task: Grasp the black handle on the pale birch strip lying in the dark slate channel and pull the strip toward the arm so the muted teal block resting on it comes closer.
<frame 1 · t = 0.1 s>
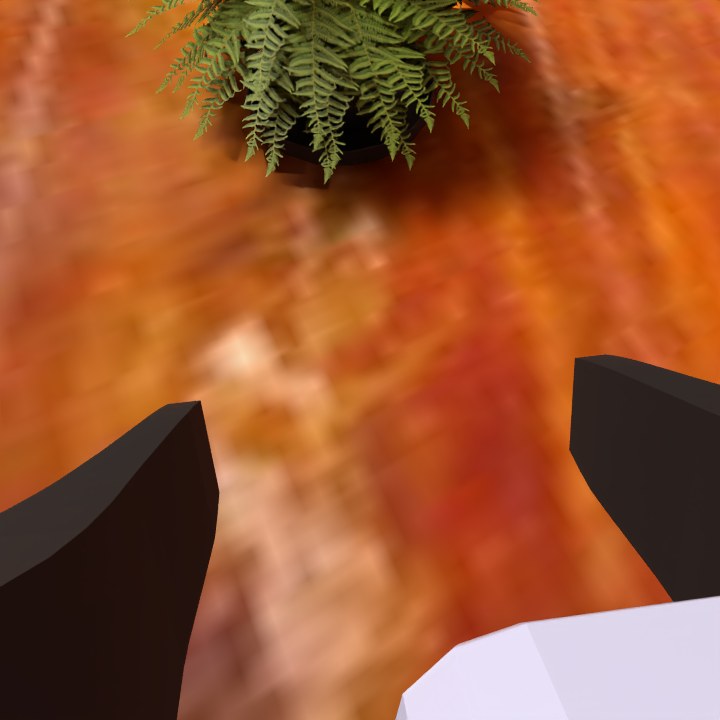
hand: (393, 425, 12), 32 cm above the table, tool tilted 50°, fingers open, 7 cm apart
fern plant: (343, 97, 61), on the table
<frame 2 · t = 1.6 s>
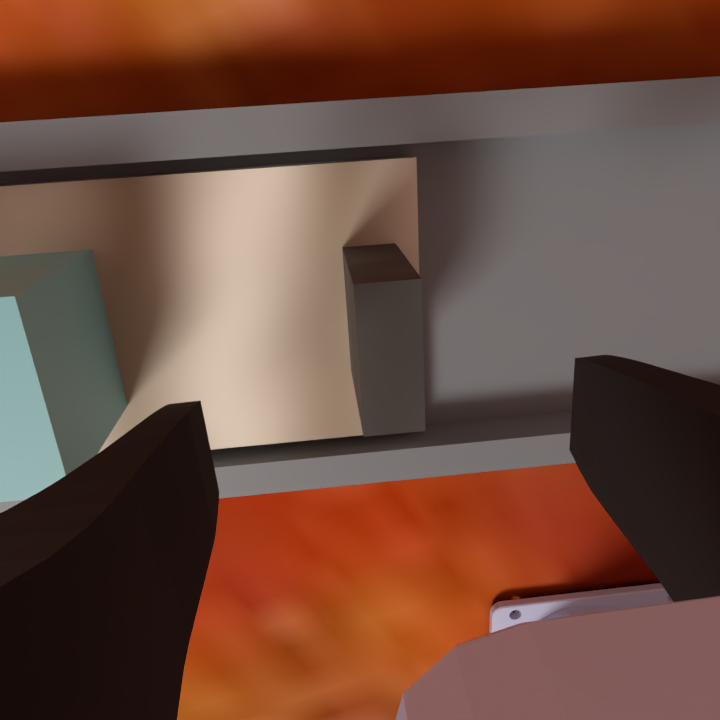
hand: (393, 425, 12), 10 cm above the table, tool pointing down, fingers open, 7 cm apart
block: (26, 338, 18), point 2 cm above the table, touching strip
channel: (352, 294, 20), on the table
strip: (129, 347, 17), point 4 cm above the table, slide at 0.0 cm, touching block
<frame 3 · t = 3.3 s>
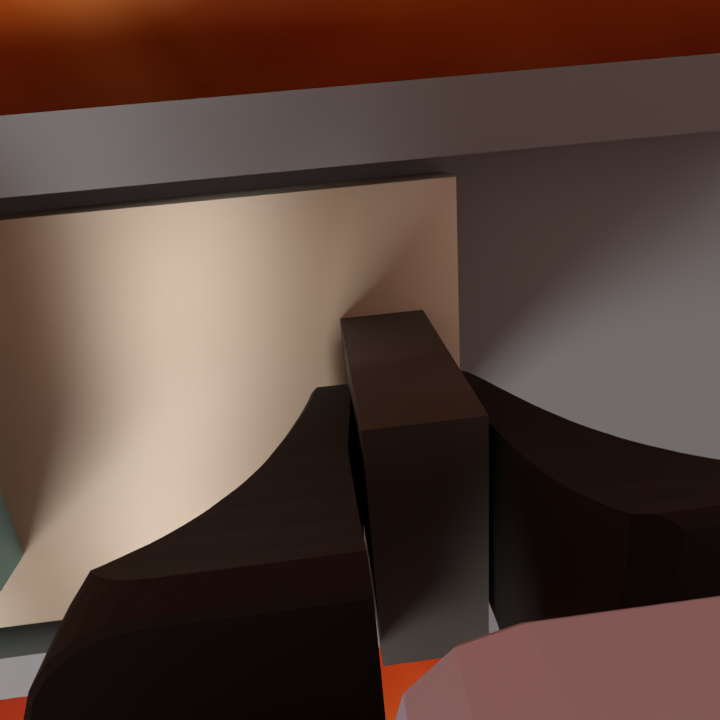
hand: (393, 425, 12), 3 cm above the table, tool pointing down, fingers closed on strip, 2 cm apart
channel: (355, 372, 14), on the table
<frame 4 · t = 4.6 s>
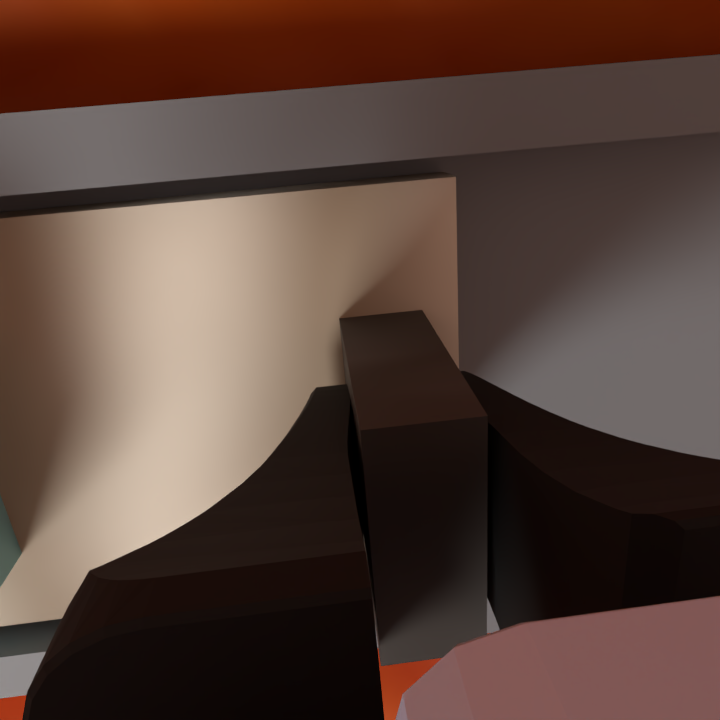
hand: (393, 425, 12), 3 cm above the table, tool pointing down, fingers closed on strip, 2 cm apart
channel: (147, 395, 14), on the table
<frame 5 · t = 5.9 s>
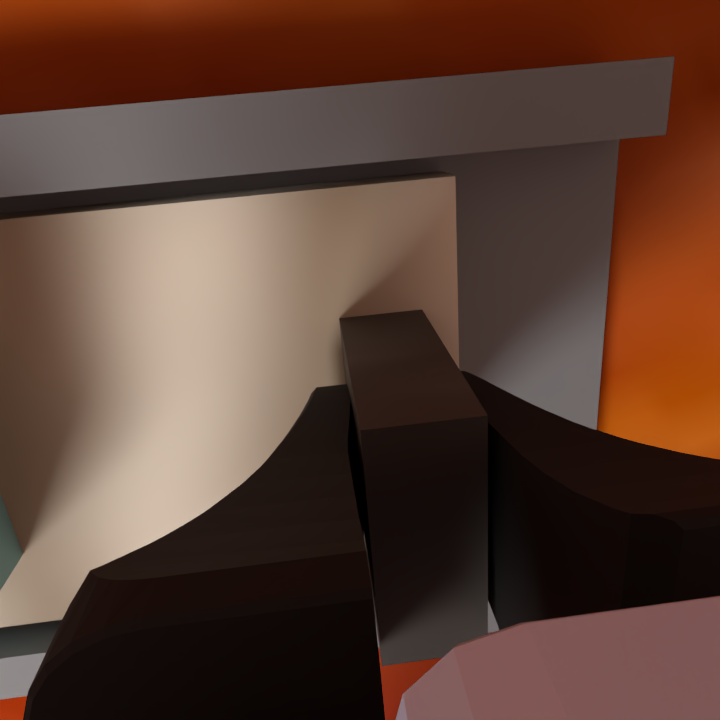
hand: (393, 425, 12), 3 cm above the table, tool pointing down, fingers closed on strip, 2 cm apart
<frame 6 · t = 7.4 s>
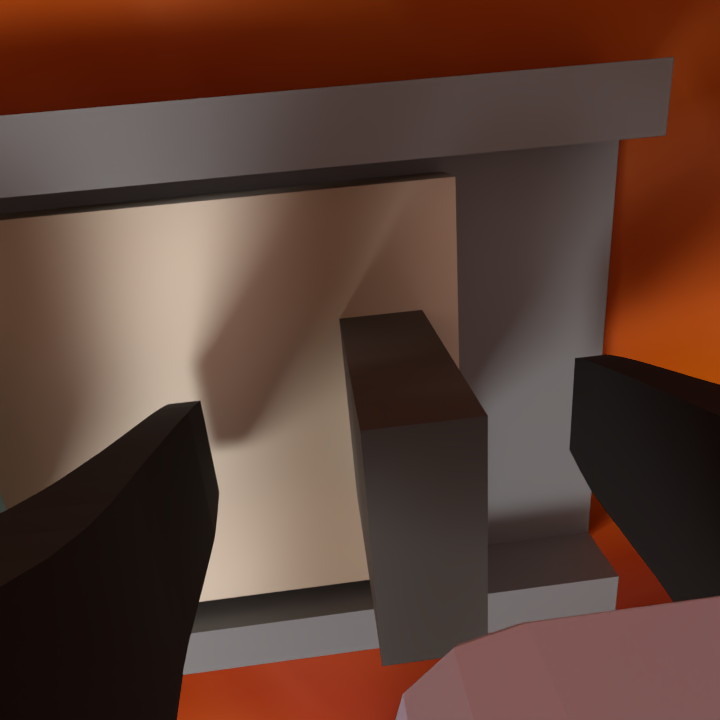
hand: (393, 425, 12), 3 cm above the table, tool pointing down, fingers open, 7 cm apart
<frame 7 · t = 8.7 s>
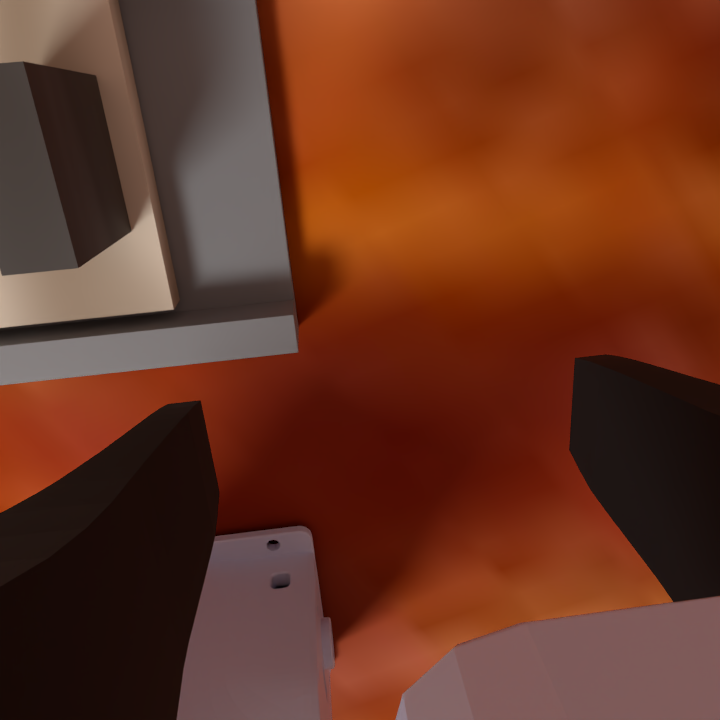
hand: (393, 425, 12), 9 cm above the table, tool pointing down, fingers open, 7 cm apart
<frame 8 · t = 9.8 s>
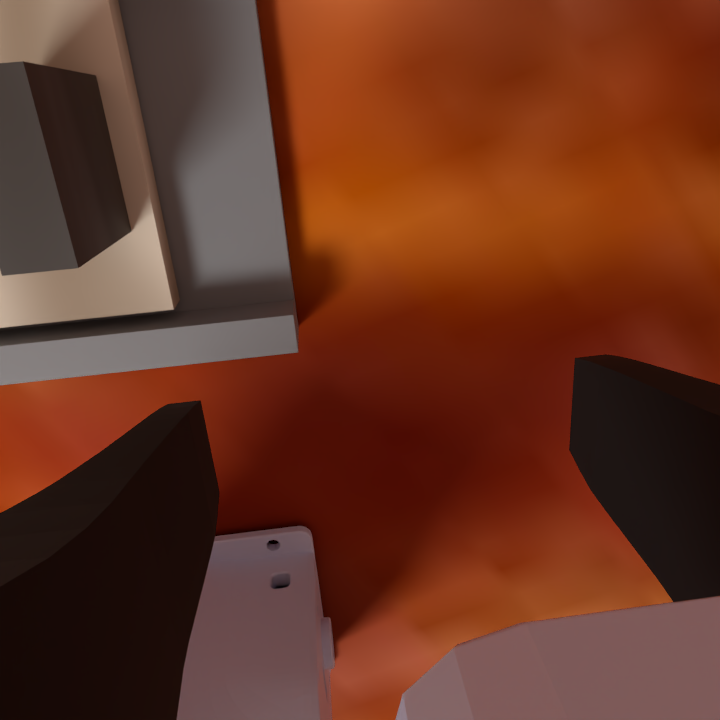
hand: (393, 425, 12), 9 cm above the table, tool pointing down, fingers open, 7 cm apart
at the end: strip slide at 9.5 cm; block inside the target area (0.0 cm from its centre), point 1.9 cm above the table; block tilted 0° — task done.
